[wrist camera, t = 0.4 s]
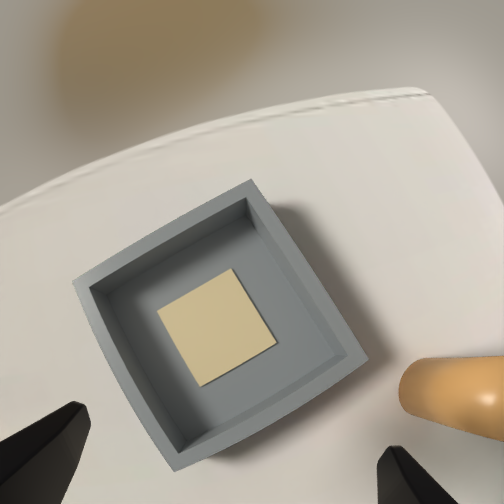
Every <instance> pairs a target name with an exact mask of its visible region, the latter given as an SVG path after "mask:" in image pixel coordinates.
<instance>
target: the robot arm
mask: <svg viewBox="0 0 504 504" xmlns="http://www.w3.org/2000/svg"><path fill="white" fill-rule="evenodd" d="M90 427H91V421H90V418H89V414H88V411H87V408H86V406H85V405H84V404H82V403H79V402H76V401H72V402H70V403H68V404H66V405H64V406H63V407H61V408H59V409H58V410H56V411H54V412H52V413H51V414H49V415H47V416H45V417H44V418H42V419H40V420H38V421H37V422H35V423H33V424H31V425H30V426H28V427H26V428H24V429H22V430H21V431H19V432H17V433H15V434H13V435H12V436H10V437H8V438H6V439H4V440H2V441H1V442H0V504H61V502H62V500H63V498H64V495H65V493H66V491H67V489H68V486H69V484H70V482H71V480H72V478H73V475H74V473H75V471H76V469H77V466H78V463H79V461H80V458H81V454H82V451H83V448H84V445H85V442H86V439H87V436H88V433H89V430H90ZM377 487H378V504H458V503H457V502H456V501H455V500H454V499H453V498H452V497H451V496H450V495H449V494H448V493H447V492H446V491H445V490H444V489H443V488H442V487H441V486H440V485H439V484H438V483H437V482H436V481H435V480H434V479H433V478H432V477H431V476H430V475H429V474H428V473H427V471H426V470H425V469H424V468H423V467H422V466H421V465H420V464H419V463H418V462H417V461H416V460H415V459H414V458H413V457H412V456H411V455H410V454H409V453H408V452H407V451H406V450H405V449H404V448H403V447H402V446H399V445H398V446H389V447H388V448H387V449H386V450H385V452H384V453H383V455H382V456H381V458H380V459H379V461H378V463H377Z"/></svg>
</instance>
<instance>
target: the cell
mask: <svg viewBox="0 0 504 504" xmlns="http://www.w3.org/2000/svg"><path fill="white" fill-rule="evenodd" d="M399 400H400V403H401V405H402V407H403V408H404V410H405V411H406V412H408V413H409V414H411V415H414V416H417V417H420V418H423V419H426V420H430V421H433V422H436V423H439V424H442V425H445V426H449V427H452V428H455V429H459V430H462V431H465V432H469V433H473V434H476V435H480V436H483V437H487V438H491V439H495V440H499V441H503V442H504V356H491V357H467V358H423V359H420V360H417V361H415V362H414V363H413V364H411V365H410V366H409V367H408V368H407V370H406V371H405V372H404V374H403V376H402V378H401V381H400V384H399Z"/></svg>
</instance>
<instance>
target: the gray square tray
mask: <svg viewBox="0 0 504 504" xmlns="http://www.w3.org/2000/svg"><path fill="white" fill-rule="evenodd" d="M72 282H73V285H74V288H75V290H76V293H77V295H78V298H79V300H80V303H81V305H82V308H83V310H84V312H85V315H86V317H87V319H88V322H89V324H90V326H91V328H92V331H93V333H94V335H95V337H96V339H97V341H98V344H99V346H100V348H101V350H102V352H103V354H104V356H105V358H106V360H107V362H108V364H109V366H110V368H111V370H112V372H113V374H114V376H115V378H116V379H117V381H118V383H119V385H120V387H121V389H122V391H123V392H124V394H125V396H126V398H127V400H128V401H129V403H130V405H131V406H132V408H133V410H134V412H135V413H136V415H137V417H138V418H139V420H140V422H141V423H142V425H143V427H144V428H145V430H146V431H147V433H148V434H149V436H150V438H151V439H152V441H153V442H154V444H155V445H156V447H157V448H158V450H159V451H160V453H161V454H162V456H163V457H164V459H165V460H166V462H167V463H168V464H169V466H170V467H171V469H172V470H173V471H174V472H176V471H178V470H181V469H183V468H185V467H187V466H190V465H192V464H194V463H196V462H199V461H201V460H203V459H205V458H207V457H209V456H211V455H213V454H216V453H218V452H220V451H222V450H224V449H226V448H228V447H230V446H232V445H234V444H236V443H237V442H239V441H241V440H243V439H245V438H247V437H249V436H251V435H252V434H254V433H256V432H258V431H260V430H262V429H263V428H265V427H267V426H269V425H270V424H272V423H274V422H276V421H277V420H279V419H281V418H282V417H284V416H286V415H287V414H289V413H291V412H292V411H294V410H296V409H297V408H299V407H301V406H302V405H304V404H305V403H307V402H308V401H310V400H312V399H313V398H315V397H316V396H318V395H319V394H321V393H322V392H324V391H325V390H327V389H328V388H330V387H331V386H333V385H334V384H336V383H337V382H339V381H340V380H341V379H343V378H344V377H346V376H347V375H349V374H350V373H351V372H353V371H354V370H356V369H357V368H358V367H360V366H361V365H362V364H364V363H365V362H366V361H368V360H369V359H368V357H367V355H366V354H365V352H364V350H363V349H362V347H361V345H360V344H359V342H358V341H357V339H356V337H355V336H354V334H353V332H352V331H351V329H350V328H349V326H348V324H347V323H346V321H345V320H344V318H343V316H342V315H341V313H340V312H339V310H338V309H337V307H336V305H335V304H334V302H333V301H332V299H331V297H330V296H329V294H328V293H327V291H326V290H325V288H324V287H323V285H322V283H321V282H320V280H319V279H318V277H317V276H316V274H315V273H314V271H313V270H312V268H311V266H310V265H309V263H308V262H307V260H306V259H305V257H304V256H303V254H302V253H301V251H300V250H299V248H298V247H297V245H296V244H295V242H294V241H293V239H292V238H291V236H290V235H289V233H288V232H287V230H286V229H285V227H284V226H283V224H282V223H281V221H280V220H279V218H278V217H277V215H276V214H275V212H274V211H273V209H272V208H271V207H270V205H269V204H268V202H267V201H266V199H265V198H264V196H263V195H262V193H261V192H260V190H259V189H258V188H257V186H256V185H255V183H254V182H253V180H252V179H250V180H248V181H246V182H244V183H242V184H240V185H238V186H236V187H234V188H232V189H230V190H229V191H227V192H225V193H223V194H221V195H219V196H217V197H215V198H214V199H212V200H210V201H208V202H206V203H204V204H202V205H201V206H199V207H197V208H195V209H193V210H191V211H190V212H188V213H186V214H184V215H182V216H181V217H179V218H177V219H175V220H173V221H172V222H170V223H168V224H166V225H165V226H163V227H161V228H159V229H158V230H156V231H154V232H152V233H151V234H149V235H147V236H145V237H144V238H142V239H140V240H139V241H137V242H135V243H134V244H132V245H130V246H129V247H127V248H125V249H123V250H122V251H120V252H118V253H117V254H115V255H114V256H112V257H110V258H109V259H107V260H105V261H104V262H102V263H100V264H99V265H97V266H96V267H94V268H92V269H91V270H89V271H88V272H86V273H84V274H83V275H81V276H80V277H78V278H77V279H75V280H73V281H72Z"/></svg>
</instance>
